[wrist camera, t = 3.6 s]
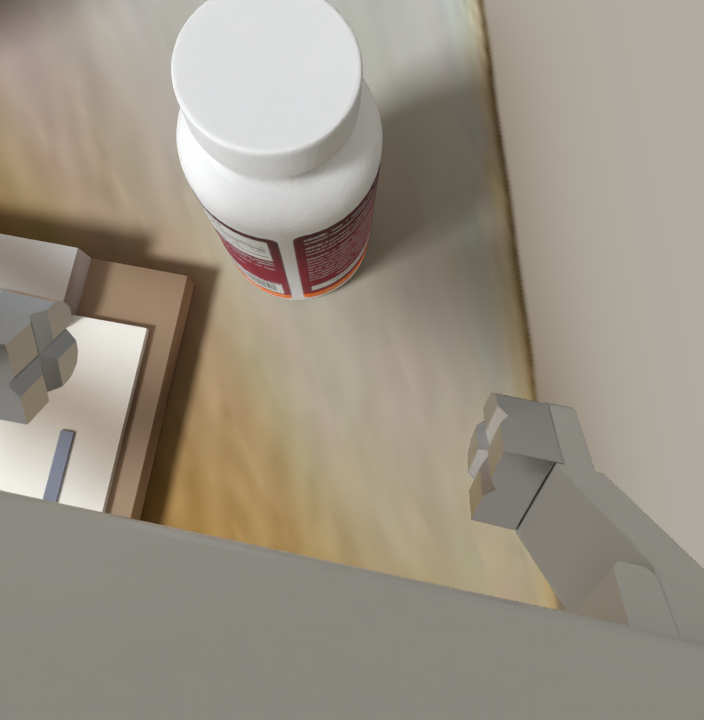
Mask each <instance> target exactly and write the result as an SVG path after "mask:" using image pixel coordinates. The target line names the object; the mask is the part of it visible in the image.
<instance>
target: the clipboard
mask: <svg viewBox="0 0 704 720" xmlns="http://www.w3.org/2000/svg"><path fill="white" fill-rule="evenodd" d="M194 285H195V284H194V283H193V282H192V280H191V279H190V278H189V277H188V276H186V275H180V274H175V273H169V272H164V271H159V270H153V269H148V268H142V267H137V266H131V265H126V264H120V263H115V262H109V261H104V260H98V259H93V258H91V257H89V256H88V255H87V254H85V253H84V252H83V251H81V250H80V249H79V248H76V247H70V246H65V245H59V244H54V243H48V242H43V241H38V240H32V239H27V238H21V237H16V236H10V235H5V234H0V287H3V288H8V289H11V290H17V291H21V292H25V293H30V294H34V295H38V296H43V297H47V298H51V299H55V300H60V301H63V302H64V303H66V304H67V305H68V306H69V307H70V311H71V315H72V320H73V322H72V323H71V324H70V326H69V327H68V328H67V330H68V331H69V332H70V334H71V335H72V336H73V337H74V338H75V340H76V342H77V348H78V357H77V364H76V366H75V369H74V371H73V374H72V376H71V377H70V379H69V380H68V381H67V382H66V383H65V384H64V386H62V387H60V388H57V389H54V390H52V391H49V392H48V396H49V402H48V403H47V404H46V405H45V406H44V407H43V409H42V410H41V411H40V412H39V413H38V414H37V415H36V416H35V417H34V418H33V419H32V420H31V422H30V423H29V424H28V425H26V424H21V423H16V422H10V421H5V420H0V490H2V491H6V492H11V493H16V494H20V495H25V496H30V497H34V498H39V499H44V500H48V501H53V502H57V503H62V504H67V505H71V506H76V507H81V508H85V509H90V510H95V511H99V512H104V513H109V514H113V515H118V516H123V517H127V518H132V519H137V520H140V518H141V514H142V510H143V505H144V501H145V497H146V492H147V488H148V484H149V479H150V475H151V471H152V467H153V462H154V458H155V454H156V449H157V445H158V441H159V436H160V432H161V428H162V423H163V419H164V415H165V410H166V406H167V402H168V397H169V393H170V389H171V385H172V380H173V376H174V372H175V367H176V363H177V359H178V354H179V350H180V346H181V341H182V337H183V333H184V328H185V324H186V320H187V315H188V311H189V307H190V303H191V298H192V294H193V290H194Z"/></svg>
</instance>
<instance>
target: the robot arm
mask: <svg viewBox="0 0 704 720" xmlns="http://www.w3.org/2000/svg"><path fill="white" fill-rule="evenodd" d="M72 322H73V320H72V315H71V311H70V307H69V306H68V305H67V304H66V303H64V302H63V301H60V300H55V299H51V298H47V297H43V296H38V295H34V294H30V293H25V292H21V291H17V290H11V289H8V288H3V287H0V420H5V421H10V422H16V423H21V424H26V425H28V424H29V423H30V422H31V420H32V419H33V418H34V417H35V416H36V415H37V414H38V413H39V412H40V411H41V410H42V409H43V407H44V406H45V405H46V404H47V403H48V402H49V396H48V392H49V391H52V390H54V389H57V388H60V387H62V386H64V384H65V383H66V382H67V381H68V380H69V379H70V377H71V376H72V374H73V371H74V369H75V366H76V364H77V357H78V348H77V342H76V340H75V338H74V337H73V336H72V335H71V334H70V332H69V331H68V330H67V328H68V327H69V326H70V324H71V323H72ZM484 419H485V421H483V422H481V423H480V424H478V425H476V428H475V430H474V433H473V436H472V438H471V443H470V447H469V452H468V473H469V474H470V475H471V477H472V478H473V479H474V481H473V484H472V486H471V488H470V490H469V494H470V508H471V520H475V521H479V522H483V523H487V524H491V525H496V526H500V527H504V528H508V529H512V530H516V531H517V532H516V533H517V535H518V536H519V538H520V540H521V541H522V543H523V544H524V546H525V547H526V549H527V550H528V552H529V553H530V555H531V557H532V558H533V560H534V561H535V563H536V564H537V566H538V567H539V569H540V570H541V572H542V574H543V575H544V577H545V578H546V580H547V581H548V583H549V584H550V586H551V587H552V589H553V591H554V592H555V594H556V595H557V597H558V598H559V600H560V601H561V603H562V604H563V606H564V607H565V609H566V611H567V612H564V611H559V610H555V609H550V608H546V607H541V606H536V605H532V604H527V603H522V602H518V601H513V600H508V599H504V598H499V597H494V596H490V595H485V594H480V593H476V592H471V591H466V590H462V589H457V588H452V587H448V586H443V585H438V584H434V583H429V582H424V581H420V580H415V579H410V578H406V577H401V576H397V575H392V574H387V573H383V572H378V571H373V570H369V569H364V568H359V567H355V566H350V565H346V564H341V563H336V562H332V561H327V560H322V559H318V558H313V557H309V556H304V555H299V554H295V553H290V552H285V551H281V550H276V549H271V548H267V547H262V546H258V545H253V544H248V543H244V542H239V541H234V540H230V539H225V538H220V537H216V536H211V535H206V534H202V533H197V532H192V531H188V530H183V529H178V528H174V527H169V526H165V525H160V524H155V523H151V522H146V521H141V520H137V519H132V518H127V517H123V516H118V515H113V514H109V513H104V512H99V511H95V510H90V509H85V508H81V507H76V506H71V505H67V504H62V503H57V502H53V501H48V500H44V499H39V498H34V497H30V496H25V495H20V494H16V493H11V492H6V491H2V490H0V720H704V569H703V568H702V567H701V566H700V565H699V564H698V563H697V562H696V561H695V560H694V559H693V558H692V557H691V556H689V554H687V553H686V552H685V551H684V550H683V549H682V548H681V547H680V546H679V545H678V544H677V543H676V542H675V541H674V540H673V539H672V538H671V537H669V535H668V534H666V533H665V532H664V531H663V530H662V529H661V528H660V527H659V526H658V525H657V524H656V523H655V522H654V521H653V520H652V519H651V518H650V517H649V516H648V515H647V514H645V513H644V512H643V511H642V510H641V509H640V508H639V507H638V506H637V505H636V504H635V503H634V502H633V501H632V500H631V499H630V498H628V496H627V495H626V494H625V493H624V492H622V491H621V490H620V489H619V488H618V487H617V486H616V485H615V484H614V483H613V482H612V481H611V480H609V478H608V477H607V476H606V475H605V474H603V473H600V472H596V471H595V470H594V466H593V464H592V461H591V457H590V454H589V451H588V448H587V445H586V442H585V439H584V436H583V433H582V430H581V427H580V423H579V420H578V417H577V414H576V411H575V410H574V409H573V408H572V407H567V406H561V405H556V404H550V403H540V402H536V401H531V400H526V399H521V398H516V397H511V396H506V395H502V394H497V393H491V395H490V396H489V398H488V399H487V402H486V404H485V406H484Z"/></svg>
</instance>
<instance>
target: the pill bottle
mask: <svg viewBox="0 0 704 720" xmlns="http://www.w3.org/2000/svg"><path fill="white" fill-rule="evenodd" d="M171 74H172V82H173V87H174V91H175V95H176V98H177V100H178V103H179V105H180V111H179V115H178V121H177V148H178V154H179V158H180V162H181V165H182V169H183V171H184V174H185V176H186V178H187V180H188V182H189V184H190V186H191V188H192V190H193V192H194V193H195V195H196V197H197V199H198V200H199V202H200V204H201V205H202V207H203V209H204V211H205V213H206V214H207V216H208V218H209V219H210V221H211V223H212V225H213V226H214V228H215V230H216V232H217V233H218V235H219V237H220V238H221V240H222V242H223V244H224V246H225V247H226V249H227V251H228V253H229V255H230V256H231V258H232V260H233V261H234V263H235V265H236V266H237V268H238V269H239V270H240V272H241V273H242V274H243V275H244V276H245V277H246V278H247V279H248V280H249V281H250V282H251V283H252V284H253V285H255V286H256V287H257V288H259V289H260V290H262V291H264V292H266V293H268V294H270V295H272V296H275V297H279V298H283V299H289V300H308V299H313V298H317V297H321V296H323V295H326V294H328V293H330V292H332V291H334V290H336V289H337V288H339V287H340V286H342V285H343V284H344V283H346V282H347V281H348V280H349V279H350V278H351V277H352V276H353V275H354V273H355V272H356V271H357V269H358V268H359V266H360V264H361V262H362V260H363V258H364V256H365V253H366V250H367V247H368V243H369V238H370V230H371V224H372V216H373V209H374V202H375V195H376V189H377V183H378V175H379V169H380V162H381V154H382V142H383V133H382V124H381V118H380V114H379V109H378V106H377V104H376V101H375V98H374V96H373V94H372V92H371V90H370V88H369V87H368V85H367V83H366V82H365V80H364V79H363V64H362V57H361V51H360V48H359V45H358V42H357V39H356V37H355V35H354V33H353V31H352V29H351V27H350V26H349V24H348V22H347V21H346V20H345V19H344V17H343V16H342V15H341V14H340V13H339V12H338V11H337V9H335V8H334V7H333V6H332V5H331V4H330V3H329V2H327V1H326V0H208V1H207V2H205V3H204V4H202V5H201V6H200V7H199V8H198V9H197V10H196V11H195V12H194V13H193V14H192V15H191V16H190V18H189V19H188V20H187V22H186V23H185V25H184V26H183V28H182V30H181V31H180V33H179V36H178V38H177V40H176V44H175V47H174V51H173V56H172V64H171Z"/></svg>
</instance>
